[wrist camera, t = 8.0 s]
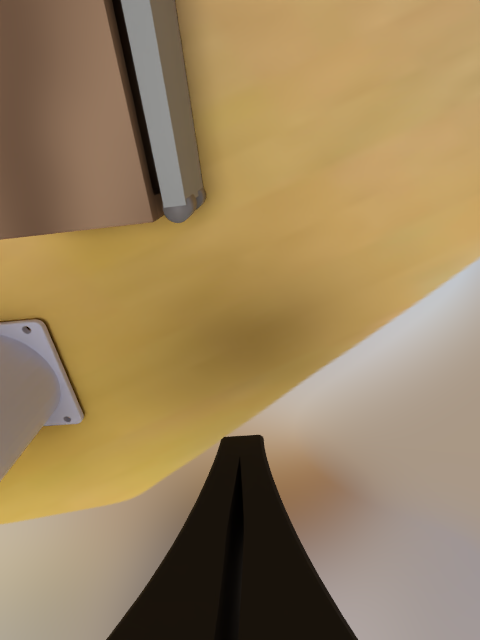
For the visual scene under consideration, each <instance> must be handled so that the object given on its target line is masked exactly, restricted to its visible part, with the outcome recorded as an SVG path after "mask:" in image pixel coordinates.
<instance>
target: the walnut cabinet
mask: <svg viewBox="0 0 480 640" xmlns="http://www.w3.org/2000/svg"><path fill="white" fill-rule="evenodd" d="M163 215H165V214H164V212H163V201H162V196H161V191H160V186H159V182H158V177H157V172H156V167H155V162H154V158H153V153H152V148H151V143H150V138H149V133H148V129H147V124H146V119H145V114H144V109H143V105H142V100H141V95H140V90H139V85H138V80H137V76H136V71H135V66H134V61H133V56H132V51H131V47H130V42H129V37H128V32H127V27H126V23H125V18H124V13H123V8H122V3H121V0H0V240H1V239H9V238H18V237H27V236H36V235H44V234H53V233H62V232H71V231H79V230H88V229H97V228H106V227H114V226H123V225H132V224H141V223H149V222H154V221H156V220H157V219H159V218H160V217H162V216H163Z"/></svg>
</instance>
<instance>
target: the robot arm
mask: <svg viewBox="0 0 480 640" xmlns="http://www.w3.org/2000/svg"><path fill="white" fill-rule="evenodd" d="M26 326H27V327H29V328H30V329H31V331H30V330H28V329H27V327H26ZM69 417H70V418H69ZM83 418H84V415H83V412H82V410H81V408H80V405H79V403H78V401H77V398H76V396H75V393H74V391H73V389H72V386H71V384H70V382H69V379H68V377H67V375H66V372H65V370H64V367H63V365H62V363H61V360H60V358H59V356H58V353H57V351H56V349H55V346H54V344H53V342H52V339H51V337H50V334H49V332H48V330H47V327H46V325H45V324H44V323H43V322H42V321H40V320H38V319H32V320H21V321H11V322H0V481H1V480H2V479H3V477H4V476H5V475H6V473H7V472H8V471H9V470H10V468H11V467H12V466H13V464H14V463H15V462H16V460H17V459H18V458H19V457H20V455H21V454H22V453H23V451H24V450H25V449H26V447H27V446H28V445H29V444H30V442H31V441H32V440H33V438H34V437H35V436H36V434H37V433H38V432H39V431H40V429H41V428H42V427H43V426H52V425H66V424H78V423H80V422H81V421H82V420H83ZM106 640H358V639H357V637H356V636H355V634H354V633H353V631H352V630H351V628H350V626H349V625H348V624H347V622H346V620H345V619H344V617H343V615H342V614H341V612H340V611H339V609H338V607H337V605H336V604H335V602H334V600H333V599H332V597H331V595H330V594H329V592H328V591H327V589H326V587H325V585H324V584H323V582H322V580H321V579H320V577H319V575H318V574H317V572H316V570H315V568H314V566H313V565H312V562H311V561H310V559H309V557H308V555H307V553H306V551H305V549H304V548H303V545H302V544H301V542H300V540H299V538H298V536H297V534H296V531H295V529H294V527H293V525H292V523H291V521H290V519H289V516H288V514H287V512H286V510H285V508H284V505H283V503H282V500H281V498H280V495H279V493H278V490H277V488H276V485H275V482H274V480H273V477H272V474H271V471H270V468H269V464H268V461H267V457H266V453H265V448H264V439H263V437H262V436H261V435H250V436H233V437H224V438H223V439H221V442H220V446H219V449H218V452H217V455H216V458H215V460H214V463H213V465H212V468H211V470H210V472H209V475H208V477H207V479H206V481H205V484H204V486H203V488H202V490H201V493H200V495H199V497H198V499H197V501H196V503H195V505H194V507H193V509H192V511H191V513H190V514H189V516H188V518H187V520H186V522H185V524H184V526H183V528H182V529H181V531H180V533H179V535H178V537H177V538H176V540H175V542H174V543H173V545H172V547H171V548H170V550H169V551H168V553H167V555H166V556H165V558H164V560H163V561H162V563H161V564H160V566H159V567H158V569H157V570H156V572H155V573H154V575H153V576H152V578H151V579H150V581H149V582H148V584H147V586H146V587H145V588H144V590H143V591H142V593H141V594H140V595H139V597H138V598H137V600H136V601H135V602H134V604H133V605H132V606H131V608H130V609H129V610H128V612H127V613H126V614H125V616H124V617H123V618H122V620H121V621H120V622H119V624H118V625H117V626H116V628H115V629H114V630H113V632H112V633H111V634H110V636H109V637H108V638H107V639H106Z"/></svg>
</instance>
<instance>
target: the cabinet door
mask: <svg viewBox="0 0 480 640" xmlns="http://www.w3.org/2000/svg"><path fill="white" fill-rule="evenodd" d="M121 3H122V8H123V13H124V18H125V23H126V27H127V32H128V37H129V42H130V47H131V51H132V56H133V61H134V66H135V71H136V76H137V80H138V85H139V90H140V95H141V100H142V105H143V109H144V114H145V119H146V124H147V129H148V133H149V138H150V143H151V148H152V153H153V158H154V162H155V167H156V172H157V177H158V182H159V186H160V191H161V196H162V201H163V212H164V214H165V216H166V217H167V218H168V219H169V220H170V221H172V222H175V223H181V222H184V221H185V220H186V219H187V218H188V217H189V216H191V215H192V214H193V213H194V211H195V210H196V209H198V208H199V207H200V206H201V205H202V204H203V203H204V201H205V199H206V193H205V190H204V189H203V183H202V176H201V169H200V163H199V156H198V150H197V143H196V137H195V130H194V123H193V117H192V110H191V104H190V97H189V91H188V84H187V78H186V71H185V64H184V58H183V51H182V45H181V38H180V32H179V25H178V19H177V12H176V5H175V0H121Z"/></svg>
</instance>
